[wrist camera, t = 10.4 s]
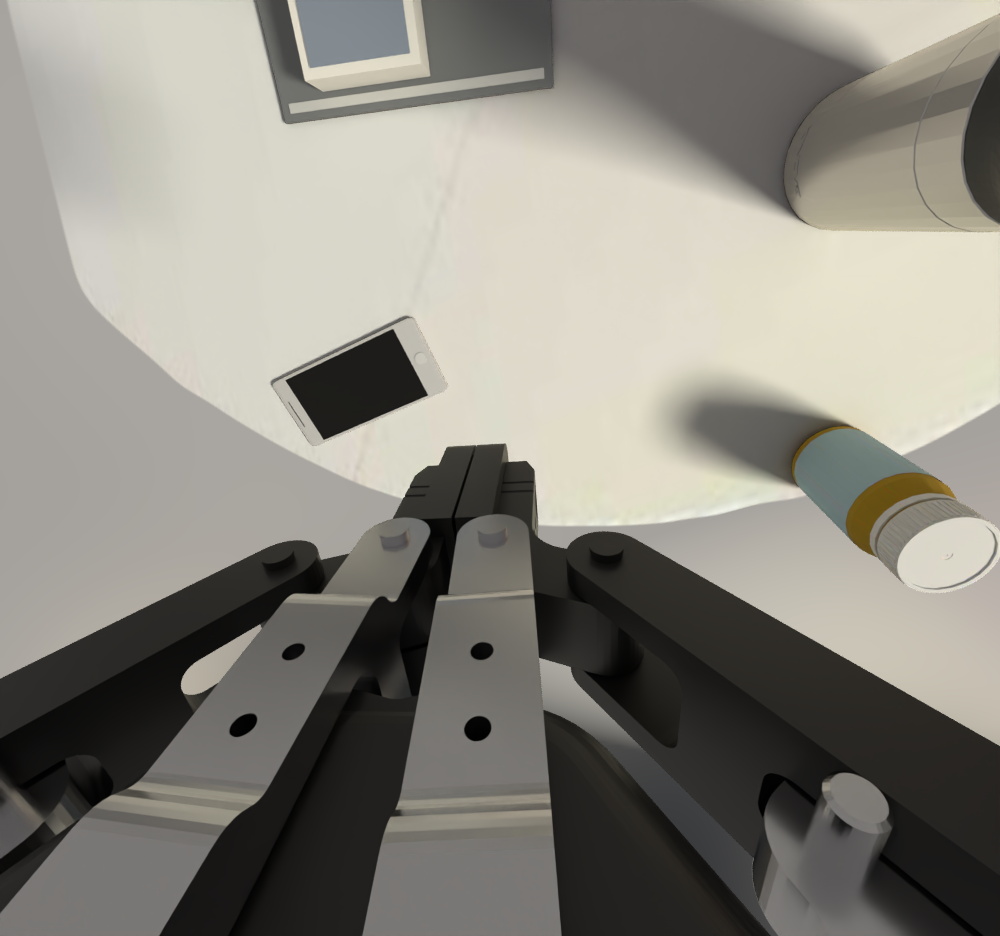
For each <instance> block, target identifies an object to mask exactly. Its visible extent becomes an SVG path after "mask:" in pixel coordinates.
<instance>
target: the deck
mask: <svg viewBox="0 0 1000 936" xmlns="http://www.w3.org/2000/svg"><path fill="white" fill-rule="evenodd" d="M287 1H288V5H289V10H290V15H291V19H292V24H293V29H294V33H295V38H296V42H297V47H298V52H299V56H300V61H301V66H302V70H303V75H304V79H305V81H306V82H308V83H309V84H311V85H313V86H314V87H316V88H318V89H319V90H321V91H322V92H325V91H332V90H339V89H346V88H353V87H360V86H367V85H374V84H381V83H388V82H395V81H401V80H408V79H415V78H422V77H429V76H430V69H429V61H428V53H427V45H426V37H425V29H424V21H423V13H422V5H421V0H287Z"/></svg>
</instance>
